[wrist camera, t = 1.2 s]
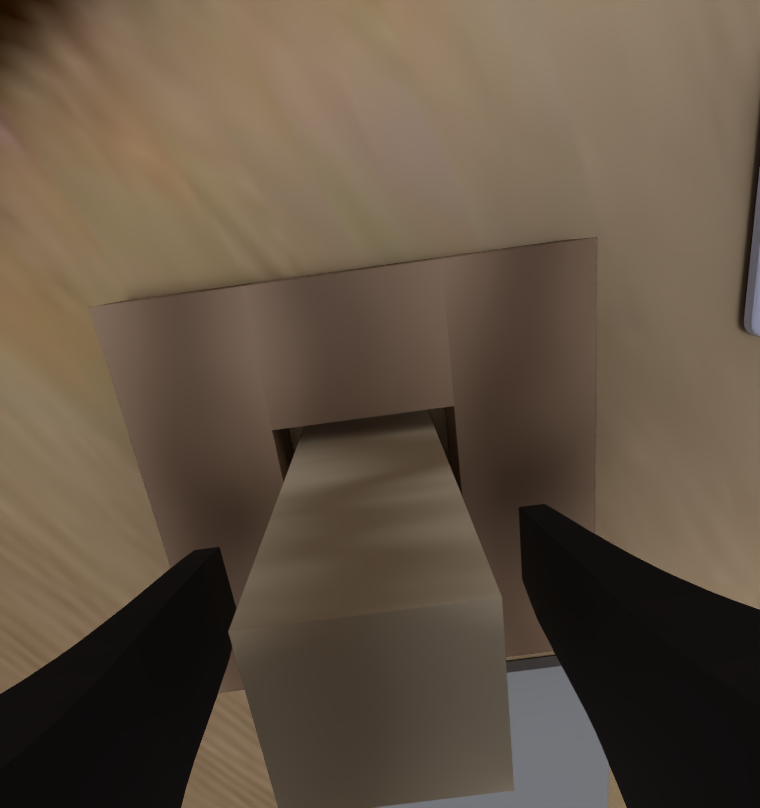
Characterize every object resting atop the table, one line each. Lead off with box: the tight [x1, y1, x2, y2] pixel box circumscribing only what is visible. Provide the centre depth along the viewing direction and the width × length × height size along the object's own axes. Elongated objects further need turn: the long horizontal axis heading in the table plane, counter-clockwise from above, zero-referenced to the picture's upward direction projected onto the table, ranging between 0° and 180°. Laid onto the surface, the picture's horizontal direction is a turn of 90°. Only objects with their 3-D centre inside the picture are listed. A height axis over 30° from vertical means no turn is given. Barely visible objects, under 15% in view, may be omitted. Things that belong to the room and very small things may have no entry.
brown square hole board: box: [89, 237, 597, 693], centre depth 15 cm, size 13×13×2 cm
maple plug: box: [228, 410, 514, 808], centre depth 12 cm, size 4×4×9 cm
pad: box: [377, 656, 609, 808], centre depth 20 cm, size 10×10×1 cm
